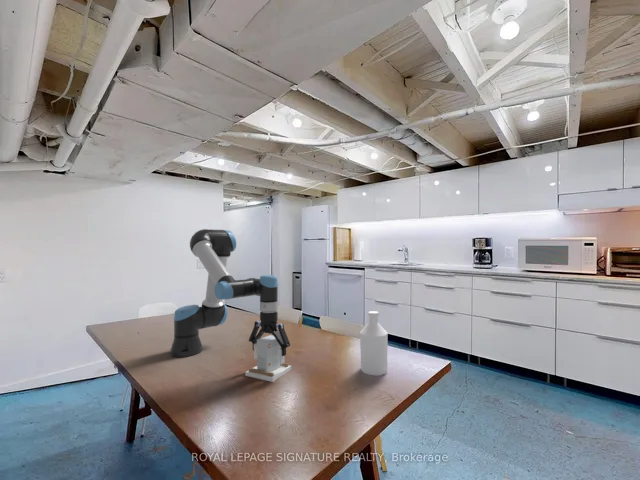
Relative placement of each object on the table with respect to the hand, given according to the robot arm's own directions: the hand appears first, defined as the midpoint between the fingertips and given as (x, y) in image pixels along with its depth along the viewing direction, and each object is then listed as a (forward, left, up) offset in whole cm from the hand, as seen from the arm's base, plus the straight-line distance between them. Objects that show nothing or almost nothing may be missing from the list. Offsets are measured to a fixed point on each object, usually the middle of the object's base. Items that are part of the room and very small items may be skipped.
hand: (269, 360), depth 128 cm
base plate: (0, 0, -5) cm, 5 cm away
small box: (0, 0, -4) cm, 4 cm away
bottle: (+40, +22, -5) cm, 46 cm away
